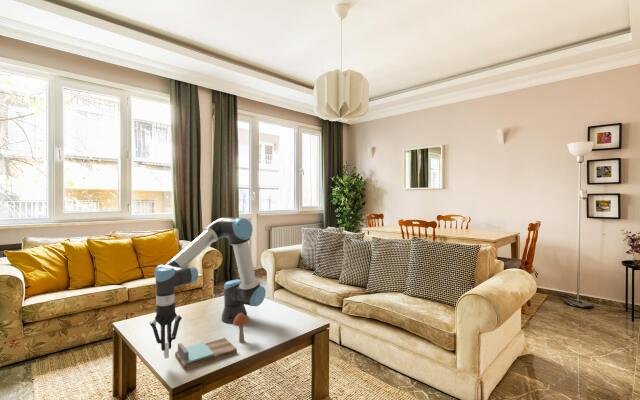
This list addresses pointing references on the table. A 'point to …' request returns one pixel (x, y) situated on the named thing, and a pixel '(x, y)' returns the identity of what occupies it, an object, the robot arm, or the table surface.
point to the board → (218, 347)
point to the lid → (194, 352)
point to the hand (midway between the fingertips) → (166, 356)
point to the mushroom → (240, 324)
